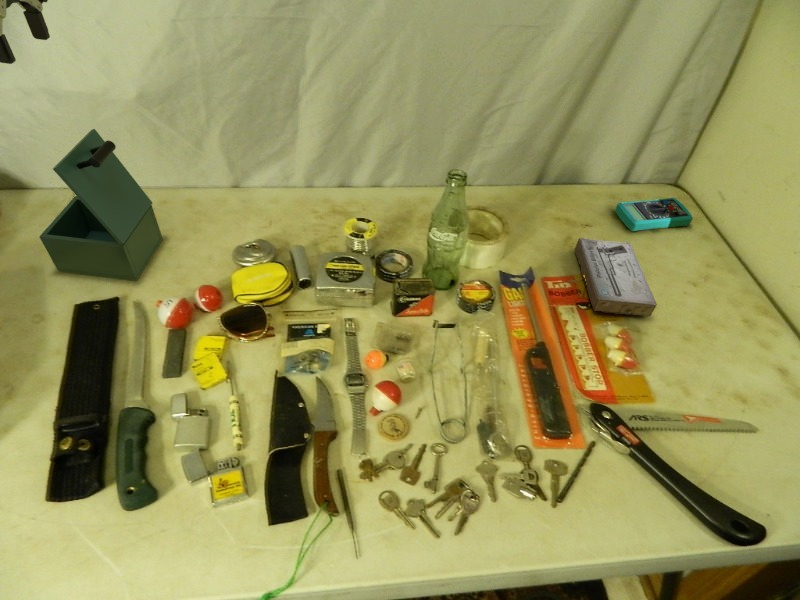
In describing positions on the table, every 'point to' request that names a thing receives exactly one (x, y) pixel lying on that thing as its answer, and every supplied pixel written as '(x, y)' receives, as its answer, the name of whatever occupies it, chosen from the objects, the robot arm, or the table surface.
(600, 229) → the table surface
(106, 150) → the lid
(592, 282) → the box
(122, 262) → the case
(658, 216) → the digital multimeter
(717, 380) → the table surface
